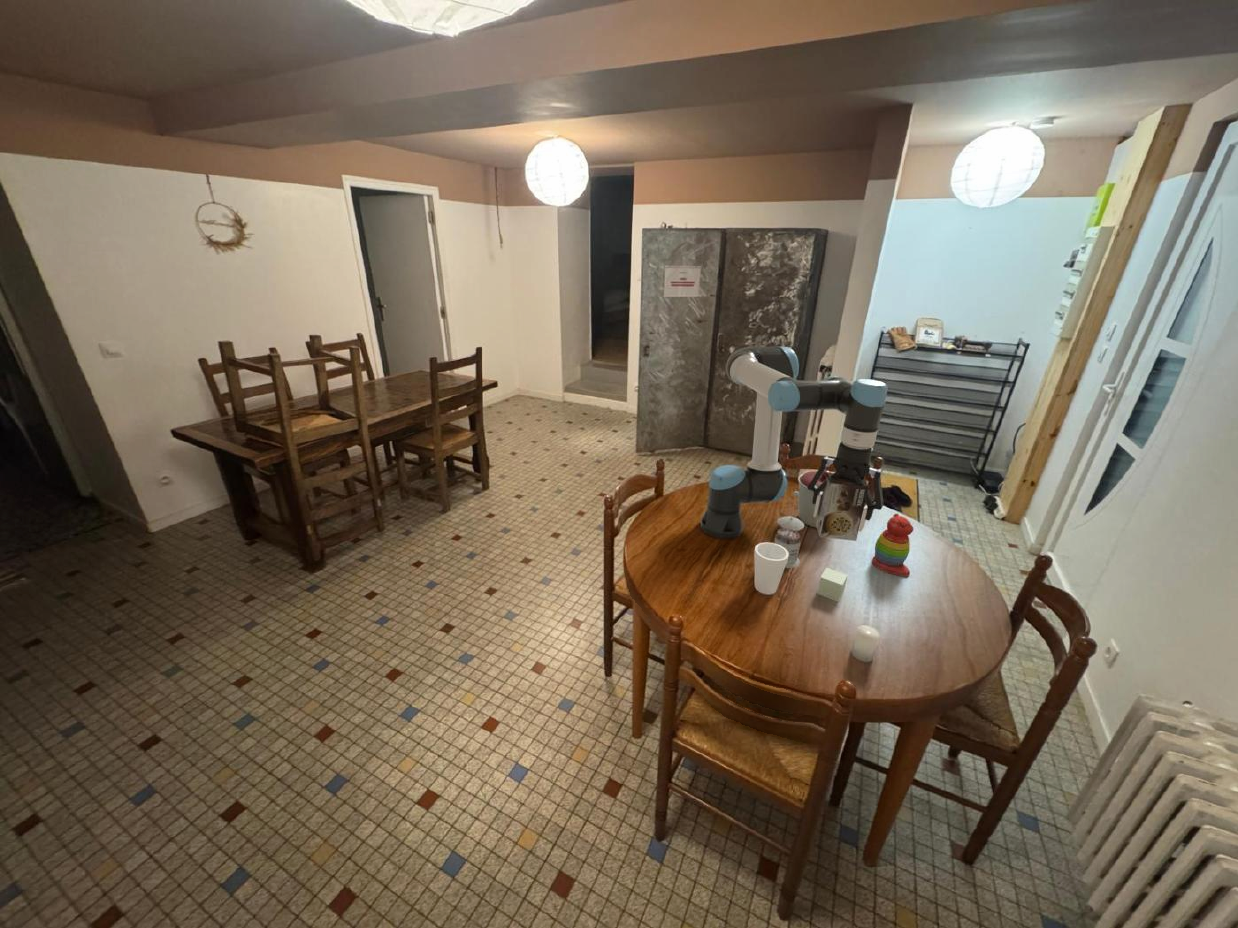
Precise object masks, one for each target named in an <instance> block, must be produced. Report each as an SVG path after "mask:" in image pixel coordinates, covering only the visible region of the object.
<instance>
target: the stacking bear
mask: <svg viewBox="0 0 1238 928" xmlns="http://www.w3.org/2000/svg"><path fill="white" fill-rule="evenodd" d="M914 529H915V528H914V526H913V525H912V524H911V522H910V521H909V520H908V519H907V518H906V517H905V516H902V515H901V516H900V515H899V513H894V514H893V516H892V517H890V518H889V519H888V520H887V522H886V529H884V530H883V531H882V532H881V533H880V535H879V536H878V538H877V539H876V541H875V547H874V556H872V559H871V562H872V564H873V566H875V567H876V568H877V569H879V570H880V571H883V572H884V573H888V574H891V575H894V576H899V577H908V576H910V574H911V572H910V569H909V568H908V567H907V566H906V565H905V561H906V559H907V558H908V556H909V553H910V551H911V550H910V549H911V548H910V545H911V544H910V543H911V541H910V537H909V536H910V535H911V534H912V533H913V532H914Z"/></svg>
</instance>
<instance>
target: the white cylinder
mask: <svg viewBox="0 0 1238 928" xmlns="http://www.w3.org/2000/svg"><path fill="white" fill-rule="evenodd" d="M880 637H881V634H880V632H879V631H878V630H876V629H875V628H874V627H872V626H869V625H865V624H864V625H863V624H862V625H859V626H857V628H856V632H855V636H854V640H853V642H852V645H851V650H850V653H851V654H852V656H853V657H854V658H855V659H857V660H858V661H861V662H863V663H870V662H872V661H873V660H874V657H875V654H876V650H877V647H878V643H879V641H880Z"/></svg>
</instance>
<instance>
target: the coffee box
mask: <svg viewBox="0 0 1238 928" xmlns="http://www.w3.org/2000/svg"><path fill="white" fill-rule="evenodd" d="M833 473H834V472H831V473H827V475H826V480H827V484H826V487H825V488H824V490H823V495H822V499H821V504H820V509H819V514H818V519H817V523H816V526H817V528H816V529H817V533H818V535H819V538H827V539H835V540H844V541H853V542H857V539H858V536H859V535H858V534H859V531H858V529H859V525H860V522H861V518H862V514H863V510H864V508H865V506H866V503H865V500H864V494H865V490H866V491H867V493H868V489H869V490H870V486H869V484H868V482H867V480H866V482H865V484H864V485H857V483H856V481H851V480H849V479H843V478H841V477H840V476H838V477H837V478H836V479H835V478H833V477H831V475H832V474H833Z"/></svg>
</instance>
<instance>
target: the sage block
mask: <svg viewBox="0 0 1238 928" xmlns="http://www.w3.org/2000/svg"><path fill="white" fill-rule="evenodd" d="M848 576H849V575H848V574H846V573H843V572H841V571H838V570H835V569H832V568H829V567H827V566H826V567H825V569H824V571H823V572H822V574H821V576H820V578H819V583H818V588H817V592H816V593H817V594H818V596H819V595H820V596H822V597H825V598H827V599H830V600H833V601H835V602H838V603H839V602H840V599H841V598H842V596H843V594H844V591H845V588H846V584H847V579H848Z"/></svg>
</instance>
